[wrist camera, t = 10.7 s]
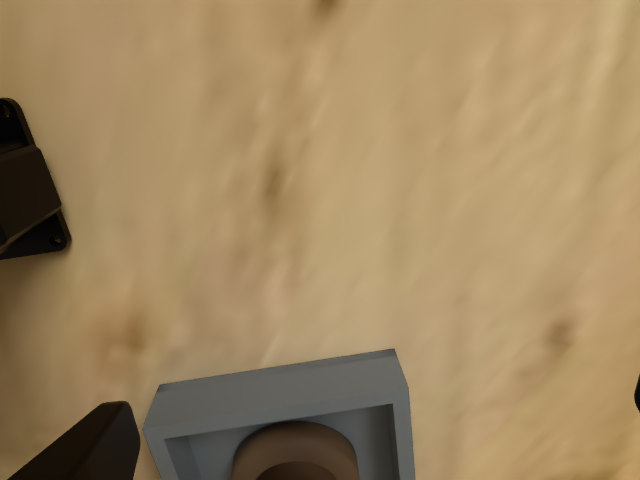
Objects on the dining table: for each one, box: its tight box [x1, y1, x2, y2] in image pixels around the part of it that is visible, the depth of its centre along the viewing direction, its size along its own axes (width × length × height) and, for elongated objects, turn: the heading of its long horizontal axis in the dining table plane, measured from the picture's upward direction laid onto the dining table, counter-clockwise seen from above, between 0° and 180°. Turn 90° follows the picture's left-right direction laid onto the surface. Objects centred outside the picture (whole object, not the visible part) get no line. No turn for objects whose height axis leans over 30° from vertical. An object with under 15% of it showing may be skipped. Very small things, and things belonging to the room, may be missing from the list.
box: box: [142, 349, 415, 480], centre depth 24 cm, size 13×13×3 cm
